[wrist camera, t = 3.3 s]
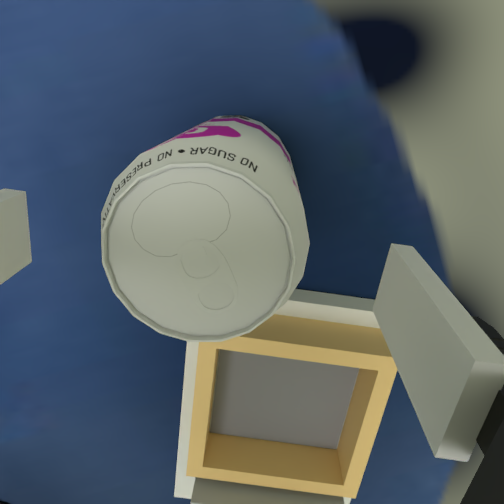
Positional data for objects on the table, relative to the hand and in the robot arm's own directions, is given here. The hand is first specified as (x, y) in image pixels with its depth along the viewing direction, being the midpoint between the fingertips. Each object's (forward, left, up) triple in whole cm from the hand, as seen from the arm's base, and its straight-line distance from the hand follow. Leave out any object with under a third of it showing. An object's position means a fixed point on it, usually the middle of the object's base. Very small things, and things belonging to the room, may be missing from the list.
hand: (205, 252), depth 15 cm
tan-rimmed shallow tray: (-19, -6, -15) cm, 25 cm away
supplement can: (0, 0, -15) cm, 15 cm away
